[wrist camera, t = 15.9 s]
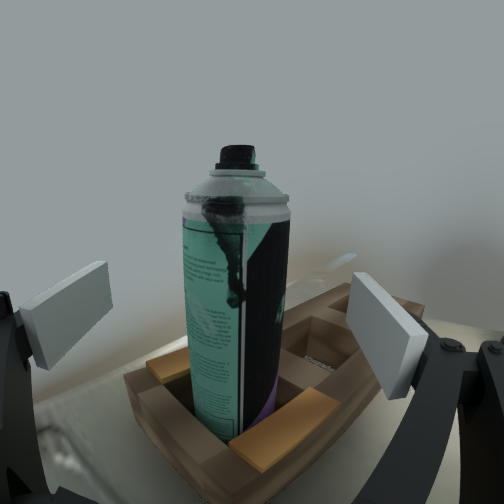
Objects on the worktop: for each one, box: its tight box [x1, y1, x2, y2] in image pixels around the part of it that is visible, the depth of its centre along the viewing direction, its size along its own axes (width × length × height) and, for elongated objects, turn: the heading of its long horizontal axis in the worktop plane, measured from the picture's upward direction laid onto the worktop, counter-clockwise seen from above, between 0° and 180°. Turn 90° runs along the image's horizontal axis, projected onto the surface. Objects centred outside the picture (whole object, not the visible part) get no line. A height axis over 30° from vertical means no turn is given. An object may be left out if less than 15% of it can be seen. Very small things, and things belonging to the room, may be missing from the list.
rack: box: [123, 283, 425, 504], centre depth 25 cm, size 12×31×6 cm, turn 134°
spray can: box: [183, 145, 291, 447], centre depth 16 cm, size 6×6×20 cm
